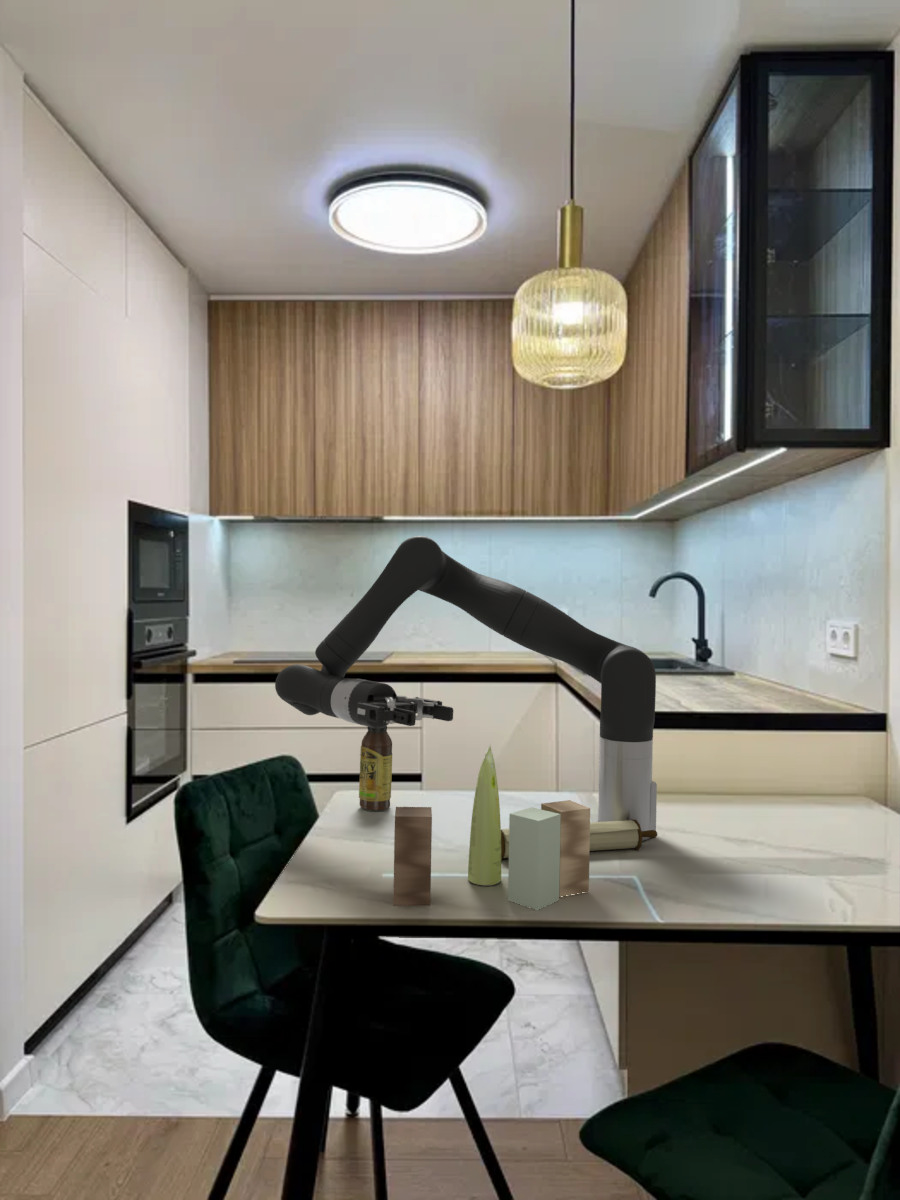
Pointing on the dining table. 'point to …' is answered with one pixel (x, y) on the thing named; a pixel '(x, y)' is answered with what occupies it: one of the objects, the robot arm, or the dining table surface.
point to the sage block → (534, 857)
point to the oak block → (572, 845)
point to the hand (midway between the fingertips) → (433, 716)
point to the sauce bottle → (375, 770)
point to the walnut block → (412, 856)
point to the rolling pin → (602, 836)
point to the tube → (485, 827)
